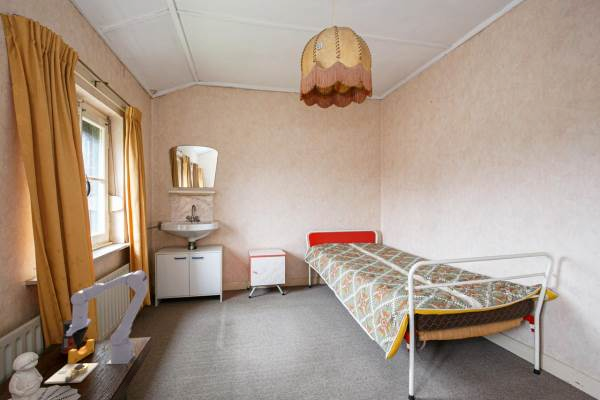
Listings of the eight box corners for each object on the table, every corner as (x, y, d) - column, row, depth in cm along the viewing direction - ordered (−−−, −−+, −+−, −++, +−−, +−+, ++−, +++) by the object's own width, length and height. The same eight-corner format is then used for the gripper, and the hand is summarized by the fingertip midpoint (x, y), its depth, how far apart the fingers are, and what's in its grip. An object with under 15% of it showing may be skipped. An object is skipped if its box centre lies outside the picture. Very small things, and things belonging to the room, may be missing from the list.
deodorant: (60, 354, 136) (62, 324, 136) (63, 349, 141) (65, 320, 141) (75, 351, 139) (76, 322, 139) (77, 346, 144) (79, 318, 144)
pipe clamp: (86, 351, 140) (86, 338, 140) (93, 351, 140) (94, 339, 140) (64, 364, 128) (65, 350, 128) (72, 365, 128) (73, 351, 128)
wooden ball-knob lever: (76, 367, 124) (77, 363, 124) (90, 366, 125) (90, 363, 125) (59, 383, 113) (59, 379, 113) (74, 382, 114) (74, 378, 114)
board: (98, 364, 128) (99, 356, 129) (80, 382, 116) (81, 373, 116) (66, 366, 126) (67, 357, 127) (44, 383, 114) (45, 374, 114)
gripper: (81, 310, 136) (79, 337, 135) (59, 322, 121) (57, 352, 121) (96, 310, 137) (94, 336, 136) (76, 322, 122) (74, 351, 122)
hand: (78, 344), depth 129 cm, fingers closed
